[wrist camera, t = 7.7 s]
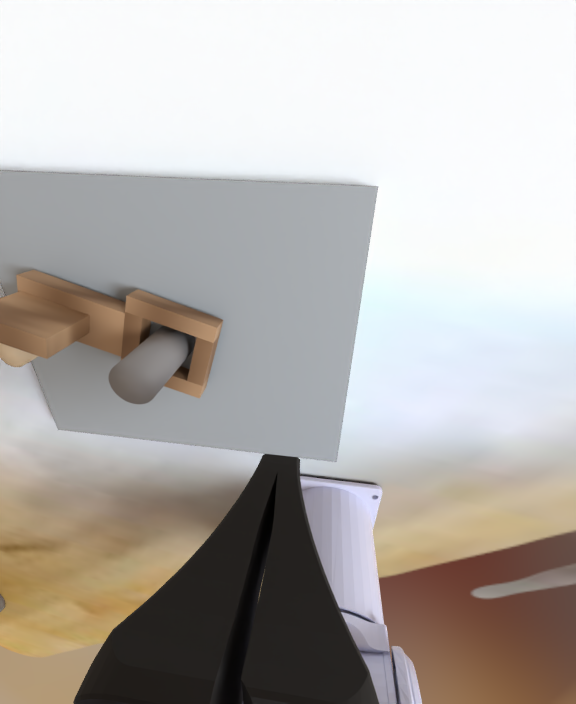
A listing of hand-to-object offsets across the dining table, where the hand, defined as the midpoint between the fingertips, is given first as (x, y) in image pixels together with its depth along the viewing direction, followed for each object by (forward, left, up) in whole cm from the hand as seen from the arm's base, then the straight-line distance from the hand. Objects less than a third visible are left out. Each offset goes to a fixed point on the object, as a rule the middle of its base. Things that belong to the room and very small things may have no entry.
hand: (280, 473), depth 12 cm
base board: (+1, +8, -10) cm, 13 cm away
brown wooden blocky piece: (+2, +11, -8) cm, 14 cm away
